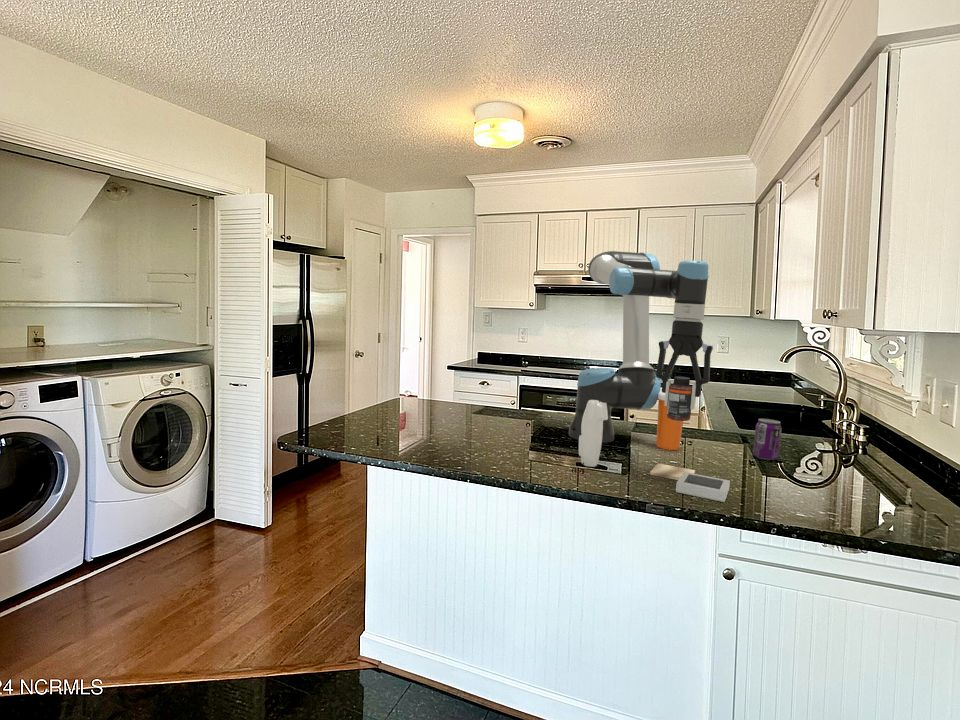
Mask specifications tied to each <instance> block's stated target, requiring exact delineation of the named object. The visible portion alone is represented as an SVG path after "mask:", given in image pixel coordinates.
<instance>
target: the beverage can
mask: <svg viewBox="0 0 960 720" xmlns="http://www.w3.org/2000/svg"><path fill="white" fill-rule="evenodd" d="M757 421H758V422H756V424H755V431H754V440H753V446H752V447H753V448H752V455H753V456H754V457H756V458H757V459H760V460H762V461H770V460H772V461H774V460H777V459H779V456H780V455H779V453H780V444H781V437H782V426H781V425H782V424H781V421H779V420H776V419H770V418H758V420H757Z"/></svg>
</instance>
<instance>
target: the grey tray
mask: <svg viewBox="0 0 960 720" xmlns="http://www.w3.org/2000/svg"><path fill="white" fill-rule="evenodd" d="M730 482H731V481H730V480H728V479H723V478H719V477H713V476H708V475H702V474H697V473H695V474H693V473H688V472H684V473H683V474H682V476H681V477H680V478H679V480H676V486H675V493H679V494H684V495H689V496H693V497H698V498H702V499H706V500H710V501H711V500H712V501H717V502H720V503H725V501H726V499H727V496H728V494H729V491H730Z"/></svg>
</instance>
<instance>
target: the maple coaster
mask: <svg viewBox="0 0 960 720" xmlns="http://www.w3.org/2000/svg"><path fill="white" fill-rule="evenodd" d="M684 472H688V473H693V474H696V470H695V469H691V468H689V469H688V468H684V467H680V466H674V465H668V464H663V463H657V464H656V465H655V466H653V468H652V469H651V470H650V472H649V475H651V476H656V477H661V478H665V479H670V480H676V481H678V480H679V478H680V477H681V476H682V474H683V473H684Z"/></svg>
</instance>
